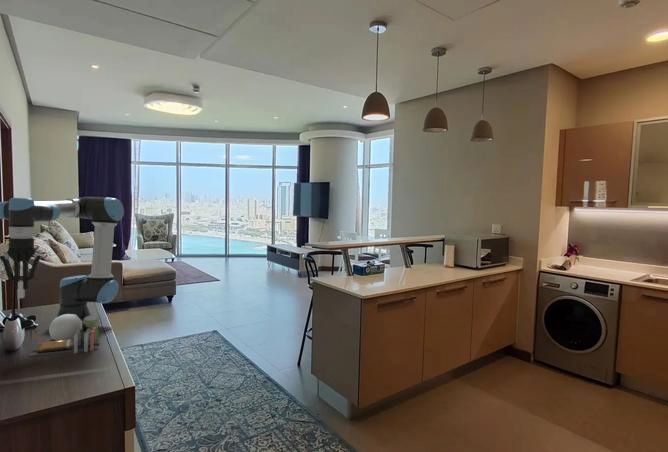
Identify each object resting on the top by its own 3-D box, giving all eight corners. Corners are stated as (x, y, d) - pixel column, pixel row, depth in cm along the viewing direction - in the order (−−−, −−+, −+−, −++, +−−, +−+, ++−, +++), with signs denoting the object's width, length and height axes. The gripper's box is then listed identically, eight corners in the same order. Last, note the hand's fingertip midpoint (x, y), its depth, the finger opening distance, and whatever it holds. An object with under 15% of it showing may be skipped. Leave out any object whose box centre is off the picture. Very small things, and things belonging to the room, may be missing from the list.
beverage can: (96, 339, 170) (97, 313, 170) (100, 343, 165) (101, 317, 164) (80, 342, 166) (80, 315, 165) (84, 347, 161) (84, 319, 160)
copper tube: (35, 353, 148) (36, 342, 149) (38, 353, 151) (39, 342, 153) (72, 349, 153) (73, 338, 154) (74, 349, 157) (74, 339, 158)
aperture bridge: (93, 344, 161) (93, 326, 161) (95, 344, 162) (96, 326, 162) (90, 351, 154) (90, 332, 154) (93, 350, 155) (93, 332, 154)
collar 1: (77, 345, 159) (77, 328, 159) (81, 345, 160) (81, 328, 160) (73, 353, 151) (74, 335, 151) (77, 352, 152) (77, 335, 152)
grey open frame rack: (34, 352, 153) (34, 348, 153) (99, 345, 163) (100, 341, 163) (27, 360, 145) (27, 356, 145) (97, 353, 155) (97, 348, 155)
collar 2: (87, 344, 161) (87, 328, 161) (90, 344, 162) (90, 327, 161) (84, 352, 153) (84, 334, 153) (87, 351, 153) (87, 334, 153)
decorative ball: (86, 340, 168) (87, 314, 167) (54, 348, 158) (55, 320, 157) (76, 334, 175) (76, 309, 174) (44, 341, 165) (45, 314, 164)
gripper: (-4, 238, 139) (-4, 301, 140) (39, 238, 145) (39, 298, 146) (3, 236, 146) (3, 296, 147) (44, 236, 151) (44, 294, 152)
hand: (21, 297), depth 146 cm, fingers closed
